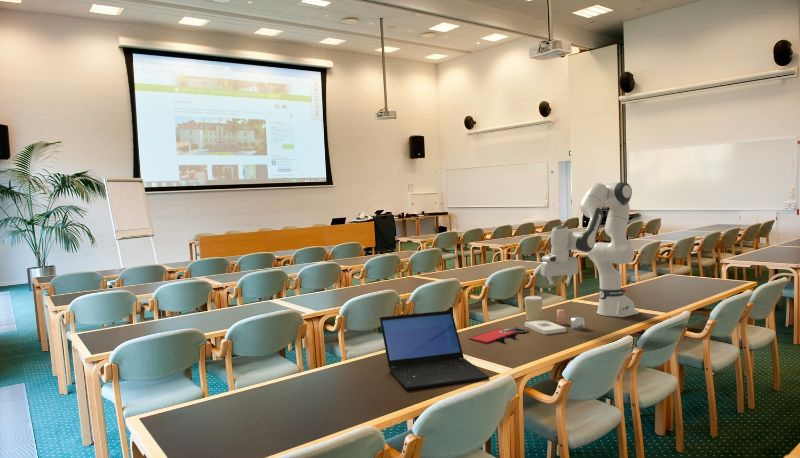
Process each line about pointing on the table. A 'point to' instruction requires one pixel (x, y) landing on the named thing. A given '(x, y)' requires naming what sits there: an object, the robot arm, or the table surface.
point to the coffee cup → (533, 308)
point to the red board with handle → (497, 335)
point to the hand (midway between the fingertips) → (559, 283)
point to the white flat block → (545, 327)
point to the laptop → (426, 350)
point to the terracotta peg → (560, 316)
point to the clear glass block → (577, 323)
